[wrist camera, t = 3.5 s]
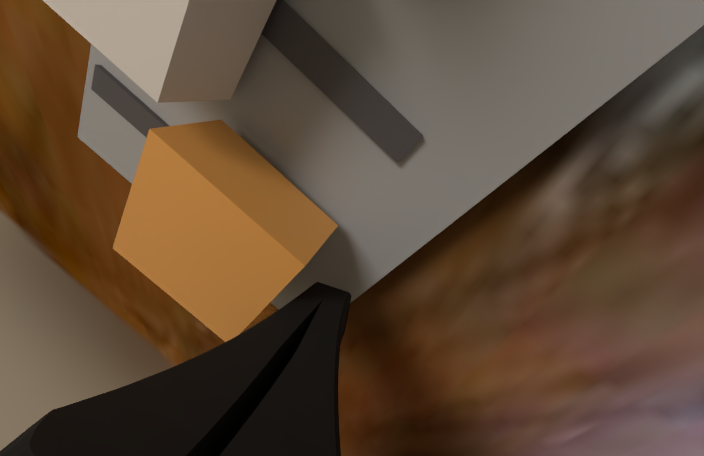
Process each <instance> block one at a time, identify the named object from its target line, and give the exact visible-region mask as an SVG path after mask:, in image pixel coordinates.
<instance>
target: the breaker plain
mask: <svg viewBox="0 0 704 456" xmlns="http://www.w3.org/2000/svg"><path fill="white" fill-rule="evenodd" d="M43 1H44V2H45V3H46V4H47V5H49V6H50V7H51V8H52V9H53V10H54V11H55V12H56V13H57V14H59V15H60V16H61V17H62V18H63V19H64V20H65V21H66V22H68V23H69V24H70V25H71V26H72V27H73V28H74V29H75V30H77V31H78V32H79V33H80V34H81V35H82V36H83V37H84V38H85V39H87V40H88V41H89V42H90V43H91V44H92V45H93V46H94V47H96V48H97V49H98V50H99V51H100V52H101V53H102V54H103V55H104V56H106V57H107V58H108V59H109V60H110V61H111V62H112V63H113V64H115V65H116V66H117V67H118V68H119V69H120V70H121V71H122V72H124V73H125V74H126V75H127V76H128V77H129V78H130V79H131V80H132V81H134V82H135V83H136V84H137V85H138V86H139V87H140V88H141V89H143V90H144V91H145V92H146V93H147V94H148V95H149V96H150V97H152V98H153V99H154V100H155V101H156V102H157V103H165V102H187V101H209V100H231V97H232V95H233V93H234V91H235V89H236V87H237V84H238V82H239V80H240V78H241V76H242V74H243V71H244V69H245V67H246V65H247V63H248V61H249V59H250V56H251V54H252V52H253V50H254V48H255V46H256V43H257V41H258V39H259V37H260V35H261V33H262V30H263V28H264V26H265V24H266V22H267V20H268V18H269V15H270V13H271V11H272V9H273V7H274V5H275V2H276V0H43Z"/></svg>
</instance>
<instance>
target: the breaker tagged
mask: <svg viewBox="0 0 704 456" xmlns="http://www.w3.org/2000/svg"><path fill="white" fill-rule="evenodd" d="M337 226H338V225H337V224H336V223H335V222H334V221H333V220H332V219H330V218H329V217H328V216H327V215H326V214H325V213H324V212H323V211H322V210H321V209H319V208H318V207H317V206H316V205H315V204H314V203H313V202H312V201H311V200H309V199H308V198H307V197H306V196H305V195H304V194H303V193H302V192H301V191H300V190H298V189H297V188H296V187H295V186H294V185H293V184H292V183H291V182H290V181H289V180H287V179H286V178H285V177H284V176H283V175H282V174H281V173H280V172H279V171H278V170H276V169H275V168H274V167H273V166H272V165H271V164H270V163H269V162H268V161H266V160H265V159H264V158H263V157H262V156H261V155H260V154H259V153H258V152H257V151H255V150H254V149H253V148H252V147H251V146H250V145H249V144H248V143H247V142H246V141H244V140H243V139H242V138H241V137H240V136H239V135H238V134H237V133H236V132H235V131H233V130H232V129H231V128H230V127H229V126H228V125H227V124H226V123H225V122H224V121H222V120H213V121H206V122H198V123H190V124H183V125H175V126H167V127H160V128H152V129H149V132H148V135H147V138H146V142H145V145H144V148H143V151H142V154H141V158H140V161H139V164H138V167H137V171H136V174H135V177H134V180H133V184H132V187H131V190H130V193H129V196H128V200H127V203H126V206H125V209H124V213H123V216H122V219H121V222H120V226H119V229H118V232H117V235H116V239H115V242H114V245H113V249H114V250H115V251H117V252H118V253H119V254H120V255H121V256H123V257H124V258H125V259H126V260H127V261H129V262H130V263H131V264H132V265H133V266H135V267H136V268H137V269H138V270H139V271H141V272H142V273H143V274H144V275H145V276H147V277H148V278H149V279H150V280H151V281H153V282H154V283H155V284H156V285H157V286H159V287H160V288H161V289H162V290H164V291H165V292H166V293H167V294H168V295H170V296H171V297H172V298H173V299H174V300H176V301H177V302H178V303H179V304H180V305H182V306H183V307H184V308H185V309H186V310H188V311H189V312H190V313H191V314H192V315H194V316H195V317H196V318H197V319H198V320H200V321H201V322H202V323H203V324H204V325H206V326H207V327H208V328H209V329H210V330H212V331H213V332H214V333H215V334H216V335H218V336H219V337H220V338H221V339H222V340H224V341H225V342H227V341H228V340H230V339H232V338H234V337H236V336H237V335H239V334H240V333H241V332H242V331H243V330H244V329H245V328H246V327H247V326H248V325H249V324H250V323H251V322H252V321H253V320H254V319H255V317H256V316H257V315H258V314H259V313H260V312H261V311H262V310H263V309H264V308H265V307H266V306H267V305H268V304H269V303H270V302H271V301H272V300H273V299H274V298H275V297H276V296H277V295H278V294H279V293H280V292H281V291H282V290H283V289H284V287H285V286H286V285H287V284H288V283H289V282H290V281H291V280H292V279H293V278H294V277H295V276H296V275H297V274H298V273H299V272H300V271H301V270H302V269H303V268H304V267H305V266H306V264H307V263H308V262H309V261H310V260H311V258H312V257H313V256H314V255H315V253H316V252H317V251H318V250H319V249H320V247H321V246H322V245H323V244H324V242H325V241H326V240H327V239H328V237H329V236H330V235H331V234H332V233H333V231H334V230H335V229H336V228H337Z"/></svg>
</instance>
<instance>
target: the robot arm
mask: <svg viewBox="0 0 704 456" xmlns="http://www.w3.org/2000/svg"><path fill="white" fill-rule="evenodd" d="M351 297H352V296H351V294H350V293H349V292H347V291H344V290H341V289H338V288H335V287H332V286H329V285H326V284H323V283H320V282H316V283H314V284H313V285H312V286H310V287H309V288H308V289H306V290H305V291H304V292H302V293H301V294H300V295H299V296H297V297H296V298H294V299H293V300H292V301H290V302H289V303H288V304H286V305H285V306H283V307H282V308H280V309H279V310H277V311H276V312H275V313H273V314H272V315H270V316H269V317H267V318H266V319H264V320H262V321H261V322H259V323H257V324H256V325H254V326H253V327H251V328H249V329H248V330H246V331H244V332H243V333H241V334H239V335H237V336H236V337H234V338H232V339H230V340H228V341H227V342H225V343H223V344H221V345H219V346H217V347H215V348H213V349H211V350H209V351H207V352H205V353H203V354H201V355H199V356H196V357H194V358H192V359H190V360H188V361H186V362H184V363H181V364H179V365H177V366H174V367H172V368H170V369H167V370H165V371H162V372H160V373H157V374H155V375H153V376H150V377H147V378H145V379H142V380H139V381H137V382H134V383H132V384H130V385H127V386H124V387H121V388H118V389H116V390H113V391H110V392H107V393H103V394H100V395H97V396H95V397H92V398H88V399H85V400H82V401H79V402H76V403H73V404H70V405H67V406H64V407H61V408H57V409H54V410H52V411H50V412H49V413H48V414H46V415H45V416H44V417H42V418H41V419H40V420H39V421H37V422H36V423H35V424H33V425H32V426H31V427H30V428H28V429H27V430H26V431H25V432H23V433H22V434H21V435H20V436H19V437H17V438H16V439H15V440H14V441H12V442H11V443H10V444H9V445H7V446H6V447H5V448H4V449H3V450H1V451H0V456H341V452H340V436H339V416H338V368H339V351H340V343H341V340H342V337H343V334H344V331H345V326H346V322H347V317H348V312H349V307H350V302H351Z"/></svg>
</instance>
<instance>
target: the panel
mask: <svg viewBox="0 0 704 456" xmlns="http://www.w3.org/2000/svg"><path fill="white" fill-rule="evenodd" d="M703 25H704V0H276V2H275V5H274V7H273V9H272V11H271V13H270V15H269V18H268V20H267V22H266V24H265V26H264V28H263V30H262V33H261V35H260V37H259V39H258V41H257V43H256V46H255V48H254V50H253V52H252V54H251V56H250V59H249V61H248V63H247V65H246V67H245V69H244V71H243V74H242V76H241V78H240V80H239V82H238V84H237V87H236V89H235V91H234V93H233V95H232V97H231V100H209V101H187V102H165V103H157V102H156V101H155V100H154V99H153V98H152V97H150V96H149V95H148V94H147V93H146V92H145V91H144V90H143V89H141V88H140V87H139V86H138V85H137V84H136V83H135V82H134V81H132V80H131V79H130V78H129V77H128V76H127V75H126V74H125V73H124V72H122V71H121V70H120V69H119V68H118V67H117V66H116V65H115V64H113V63H112V62H111V61H110V60H109V59H108V58H107V57H106V56H104V55H103V54H102V53H101V52H100V51H99V50H98V49H97V48H96V47H94V46H93V45H92V44H91V49H90V56H89V63H88V70H87V76H86V83H85V90H84V97H83V103H82V110H81V117H80V124H79V130H78V138H79V139H81V140H82V141H83V142H84V143H85V144H86V145H88V146H89V147H90V148H91V149H92V150H93V151H95V152H96V153H97V154H98V155H99V156H100V157H101V158H103V159H104V160H105V161H106V162H107V163H108V164H110V165H111V166H112V167H113V168H114V169H115V170H117V171H118V172H119V173H120V174H121V175H122V176H124V177H125V178H126V179H127V180H128V181H129V182H131V183H132V184H133V180H134V177H135V174H136V171H137V167H138V164H139V161H140V158H141V154H142V151H143V148H144V145H145V142H146V138H147V135H148V132H149V129H152V128H160V127H167V126H175V125H183V124H190V123H198V122H206V121H213V120H222V121H224V122H225V123H226V124H227V125H228V126H229V127H230V128H231V129H232V130H233V131H235V132H236V133H237V134H238V135H239V136H240V137H241V138H242V139H243V140H244V141H246V142H247V143H248V144H249V145H250V146H251V147H252V148H253V149H254V150H255V151H257V152H258V153H259V154H260V155H261V156H262V157H263V158H264V159H265V160H266V161H268V162H269V163H270V164H271V165H272V166H273V167H274V168H275V169H276V170H278V171H279V172H280V173H281V174H282V175H283V176H284V177H285V178H286V179H287V180H289V181H290V182H291V183H292V184H293V185H294V186H295V187H296V188H297V189H298V190H300V191H301V192H302V193H303V194H304V195H305V196H306V197H307V198H308V199H309V200H311V201H312V202H313V203H314V204H315V205H316V206H317V207H318V208H319V209H321V210H322V211H323V212H324V213H325V214H326V215H327V216H328V217H329V218H330V219H332V220H333V221H334V222H335V223H336V224H337V225H338V226H337V228H336V229H335V230H334V231H333V233H332V234H331V235H330V236H329V237H328V239H327V240H326V241H325V242H324V244H323V245H322V246H321V247H320V249H319V250H318V251H317V252H316V253H315V255H314V256H313V257H312V258H311V260H310V261H309V262H308V263H307V264H306V266H305V267H304V268H303V269H302V270H301V271H300V272H299V273H298V274H297V275H296V276H295V277H294V278H293V279H292V280H291V281H290V282H289V283H288V284H287V285H286V286H285V287H284V289H283V290H282V291H281V292H280V293H279V294H278V295H277V296H276V297H275V298H274V299H273V300H272V301H271V302H270V303H272V304H273V305H274V306H275V307H276V308H277V309H280V308H282V307H283V306H285V305H286V304H288V303H289V302H290V301H292V300H293V299H294V298H296V297H297V296H299V295H300V294H301V293H302V292H304V291H305V290H306V289H308V288H309V287H310V286H312V285H313V284H314V283H316V282H320V283H323V284H326V285H329V286H332V287H335V288H338V289H341V290H344V291H347V292H349V293H350V294H351V296H352V297H351V302H352V301H354V300H355V299H356V298H357V297H359V296H360V295H361V294H363V293H364V292H365V291H366V290H368V289H369V288H370V287H371V286H373V285H374V284H375V283H377V282H378V281H379V280H380V279H382V278H383V277H384V276H385V275H387V274H388V273H389V272H390V271H392V270H393V269H394V268H396V267H397V266H398V265H399V264H401V263H402V262H403V261H404V260H406V259H407V258H408V257H410V256H411V255H412V254H413V253H415V252H416V251H417V250H418V249H420V248H421V247H422V246H424V245H425V244H426V243H427V242H429V241H430V240H431V239H432V238H434V237H435V236H436V235H438V234H439V233H440V232H441V231H443V230H444V229H445V228H446V227H448V226H449V225H450V224H452V223H453V222H454V221H455V220H457V219H458V218H459V217H460V216H462V215H463V214H464V213H466V212H467V211H468V210H469V209H471V208H472V207H473V206H474V205H476V204H477V203H478V202H480V201H481V200H482V199H483V198H485V197H486V196H487V195H488V194H490V193H491V192H492V191H494V190H495V189H496V188H497V187H499V186H500V185H501V184H502V183H504V182H505V181H506V180H508V179H509V178H510V177H511V176H513V175H514V174H515V173H516V172H518V171H519V170H520V169H521V168H523V167H524V166H525V165H527V164H528V163H529V162H530V161H532V160H533V159H534V158H535V157H537V156H538V155H539V154H541V153H542V152H543V151H544V150H546V149H547V148H548V147H549V146H551V145H552V144H553V143H555V142H556V141H557V140H558V139H560V138H561V137H562V136H563V135H565V134H566V133H567V132H569V131H570V130H571V129H572V128H574V127H575V126H576V125H577V124H579V123H580V122H581V121H583V120H584V119H585V118H586V117H588V116H589V115H590V114H591V113H593V112H594V111H595V110H597V109H598V108H599V107H600V106H602V105H603V104H604V103H605V102H607V101H608V100H609V99H611V98H612V97H613V96H614V95H616V94H617V93H618V92H619V91H621V90H622V89H623V88H625V87H626V86H627V85H628V84H630V83H631V82H632V81H633V80H635V79H636V78H637V77H639V76H640V75H641V74H642V73H644V72H645V71H646V70H647V69H649V68H650V67H651V66H653V65H654V64H655V63H656V62H658V61H659V60H660V59H661V58H663V57H664V56H665V55H666V54H668V53H669V52H670V51H672V50H673V49H674V48H675V47H677V46H678V45H679V44H680V43H682V42H683V41H684V40H686V39H687V38H688V37H689V36H691V35H692V34H693V33H694V32H696V31H697V30H698V29H700V28H701V27H702V26H703ZM351 302H350V303H351Z"/></svg>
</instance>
